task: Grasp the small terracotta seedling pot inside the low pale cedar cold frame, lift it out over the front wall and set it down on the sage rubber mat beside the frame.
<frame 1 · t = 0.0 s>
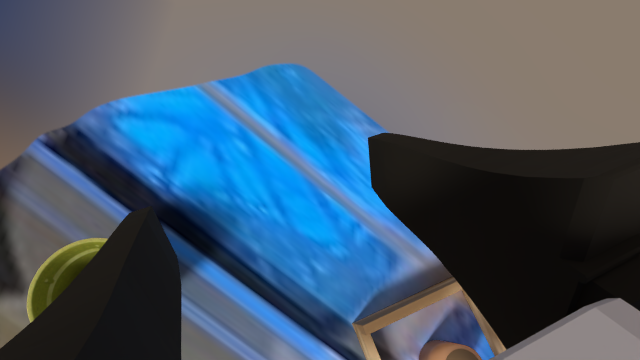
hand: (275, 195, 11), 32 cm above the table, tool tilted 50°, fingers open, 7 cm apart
plant pot: (126, 292, 38), on the table
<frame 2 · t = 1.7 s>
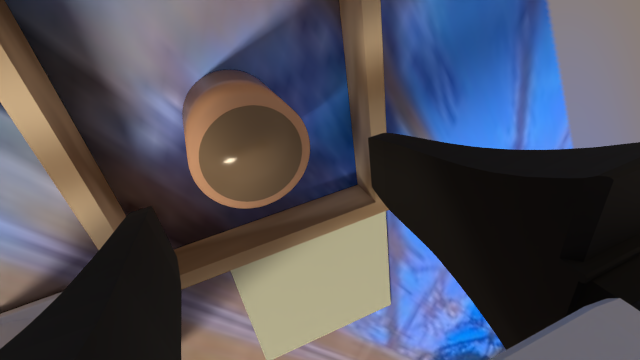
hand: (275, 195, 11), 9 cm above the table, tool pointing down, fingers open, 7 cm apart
potting mat: (321, 284, 27), on the table
cold frame: (231, 117, 18), on the table
terracotta pot: (231, 117, 18), resting in cold frame
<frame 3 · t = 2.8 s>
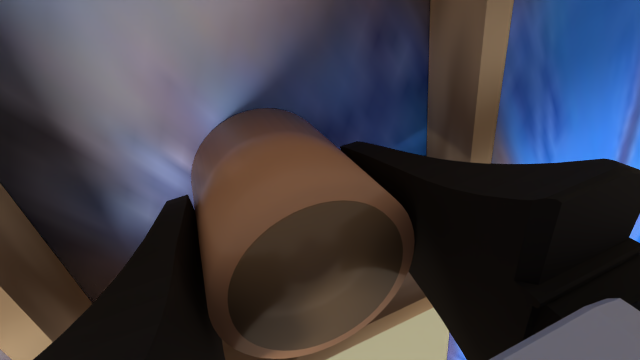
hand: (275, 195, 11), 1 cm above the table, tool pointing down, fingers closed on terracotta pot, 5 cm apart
cold frame: (264, 176, 12), on the table
terracotta pot: (264, 176, 12), resting in cold frame, touching gripper
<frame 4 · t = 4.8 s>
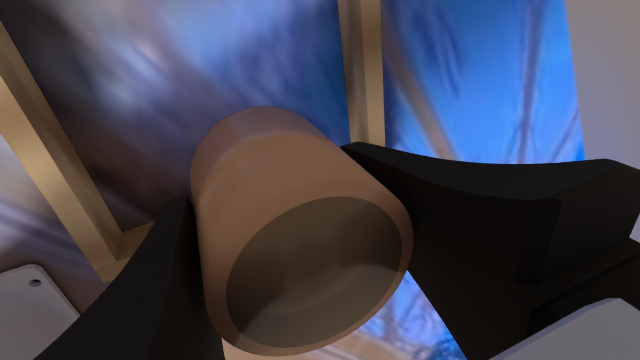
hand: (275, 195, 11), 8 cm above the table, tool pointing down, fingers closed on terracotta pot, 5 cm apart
cold frame: (212, 74, 16), on the table
terracotta pot: (264, 174, 12), point 7 cm above the table, touching gripper
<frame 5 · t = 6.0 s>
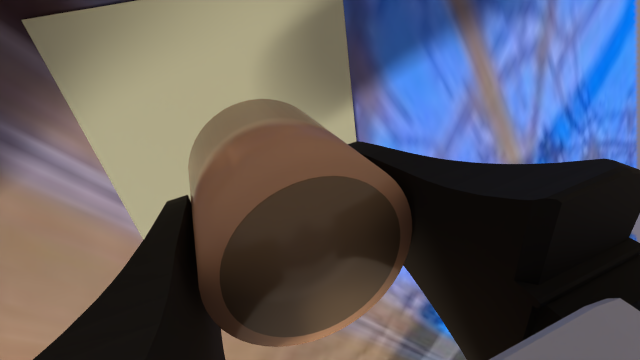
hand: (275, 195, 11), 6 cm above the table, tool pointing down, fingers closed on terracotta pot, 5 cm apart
potting mat: (239, 131, 16), on the table
terracotta pot: (262, 168, 12), point 5 cm above the table, touching gripper
when the fingers open (3 cm above the table, at t = 7.1 s): terracotta pot drops 1 cm, resting on potting mat.
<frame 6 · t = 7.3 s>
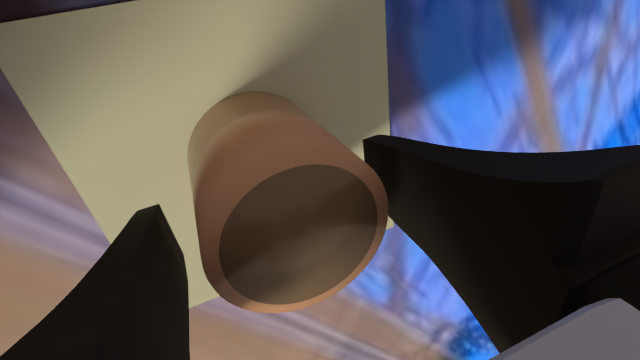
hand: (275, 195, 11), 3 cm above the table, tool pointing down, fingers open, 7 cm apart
potting mat: (256, 160, 13), on the table
terracotta pot: (256, 156, 13), resting on potting mat
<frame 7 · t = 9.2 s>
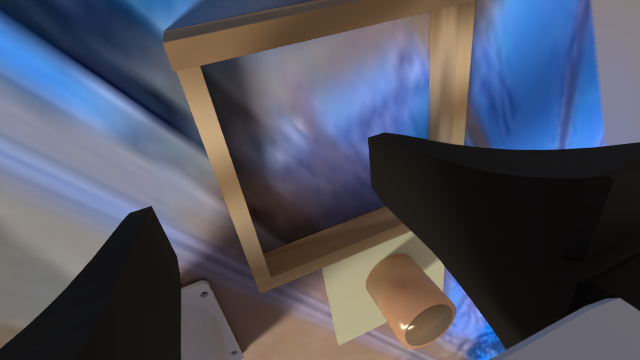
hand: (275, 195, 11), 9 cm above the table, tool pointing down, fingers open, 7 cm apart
potting mat: (389, 276, 31), on the table
cold frame: (338, 136, 22), on the table
terracotta pot: (390, 276, 30), resting on potting mat
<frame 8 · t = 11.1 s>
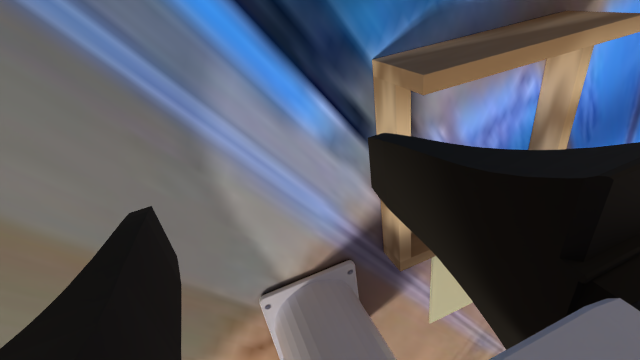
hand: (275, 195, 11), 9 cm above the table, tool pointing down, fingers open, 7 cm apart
potting mat: (478, 262, 35), on the table
cold frame: (467, 141, 27), on the table
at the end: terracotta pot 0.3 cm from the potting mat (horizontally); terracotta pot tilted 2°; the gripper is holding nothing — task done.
